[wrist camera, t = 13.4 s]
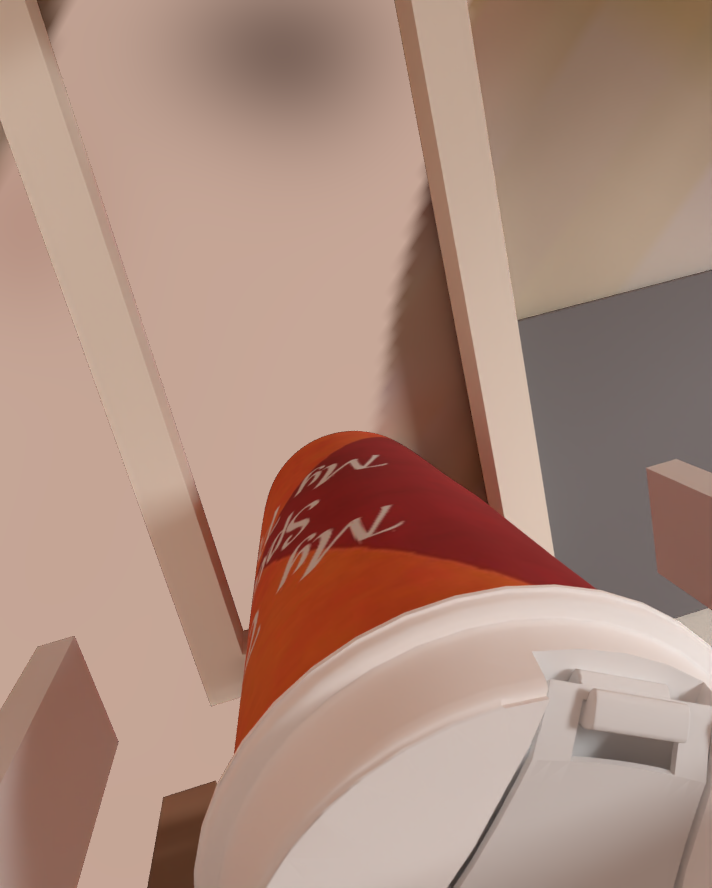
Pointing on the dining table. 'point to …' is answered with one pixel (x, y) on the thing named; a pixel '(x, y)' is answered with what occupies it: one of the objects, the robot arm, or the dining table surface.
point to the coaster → (620, 425)
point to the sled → (128, 351)
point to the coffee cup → (450, 701)
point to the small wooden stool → (179, 837)
